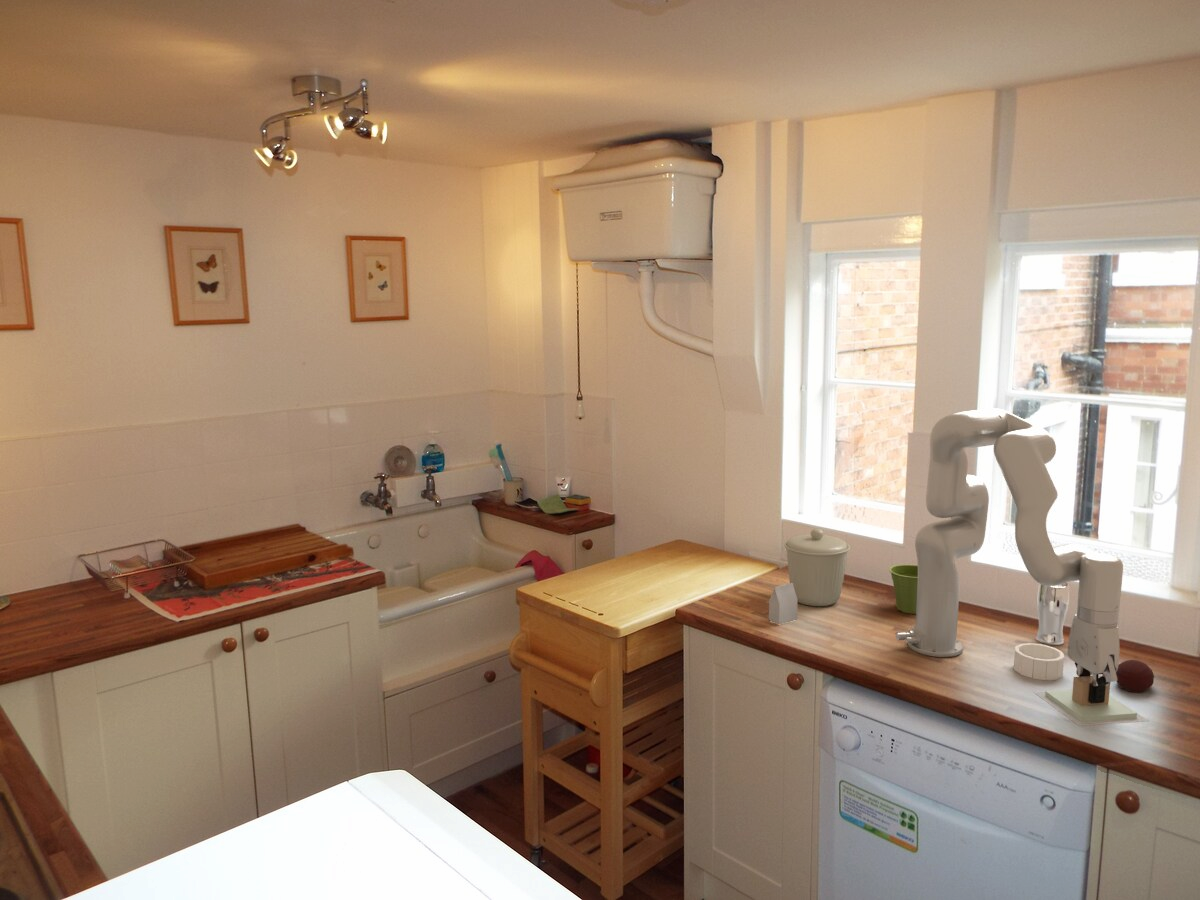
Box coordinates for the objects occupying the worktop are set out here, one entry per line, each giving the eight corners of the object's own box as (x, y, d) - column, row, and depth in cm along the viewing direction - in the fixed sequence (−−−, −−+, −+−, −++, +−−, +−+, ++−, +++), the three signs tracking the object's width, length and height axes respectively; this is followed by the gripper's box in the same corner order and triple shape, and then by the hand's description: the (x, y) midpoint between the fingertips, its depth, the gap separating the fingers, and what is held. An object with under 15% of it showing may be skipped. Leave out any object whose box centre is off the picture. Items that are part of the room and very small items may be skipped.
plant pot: (922, 601, 248) (924, 563, 246) (940, 616, 236) (942, 576, 234) (881, 602, 247) (882, 564, 246) (896, 618, 236) (898, 577, 234)
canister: (856, 596, 253) (858, 525, 249) (836, 616, 238) (839, 540, 234) (795, 586, 262) (797, 518, 259) (773, 604, 247) (774, 532, 244)
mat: (1078, 728, 175) (1079, 725, 175) (1034, 694, 190) (1034, 692, 190) (1148, 723, 177) (1148, 720, 176) (1099, 690, 191) (1099, 688, 191)
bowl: (1030, 683, 195) (1031, 661, 195) (1005, 664, 205) (1006, 644, 204) (1071, 680, 196) (1073, 659, 196) (1044, 662, 206) (1046, 642, 205)
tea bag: (796, 620, 235) (797, 584, 234) (778, 626, 232) (779, 589, 230) (786, 616, 238) (787, 581, 237) (768, 621, 235) (769, 586, 233)
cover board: (1081, 721, 177) (1083, 693, 175) (1045, 695, 188) (1047, 668, 187) (1136, 717, 178) (1139, 690, 177) (1097, 691, 190) (1099, 665, 189)
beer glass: (1069, 647, 215) (1074, 588, 212) (1038, 645, 216) (1042, 586, 214) (1060, 636, 222) (1065, 579, 219) (1030, 634, 223) (1035, 577, 220)
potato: (1107, 690, 191) (1109, 664, 190) (1122, 676, 198) (1124, 650, 197) (1145, 701, 186) (1148, 674, 185) (1159, 686, 193) (1161, 660, 192)
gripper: (1055, 601, 187) (1049, 682, 190) (1107, 630, 171) (1099, 718, 174) (1088, 599, 188) (1081, 680, 191) (1143, 628, 172) (1134, 715, 175)
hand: (1090, 697), depth 183 cm, fingers closed on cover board, 3 cm apart
